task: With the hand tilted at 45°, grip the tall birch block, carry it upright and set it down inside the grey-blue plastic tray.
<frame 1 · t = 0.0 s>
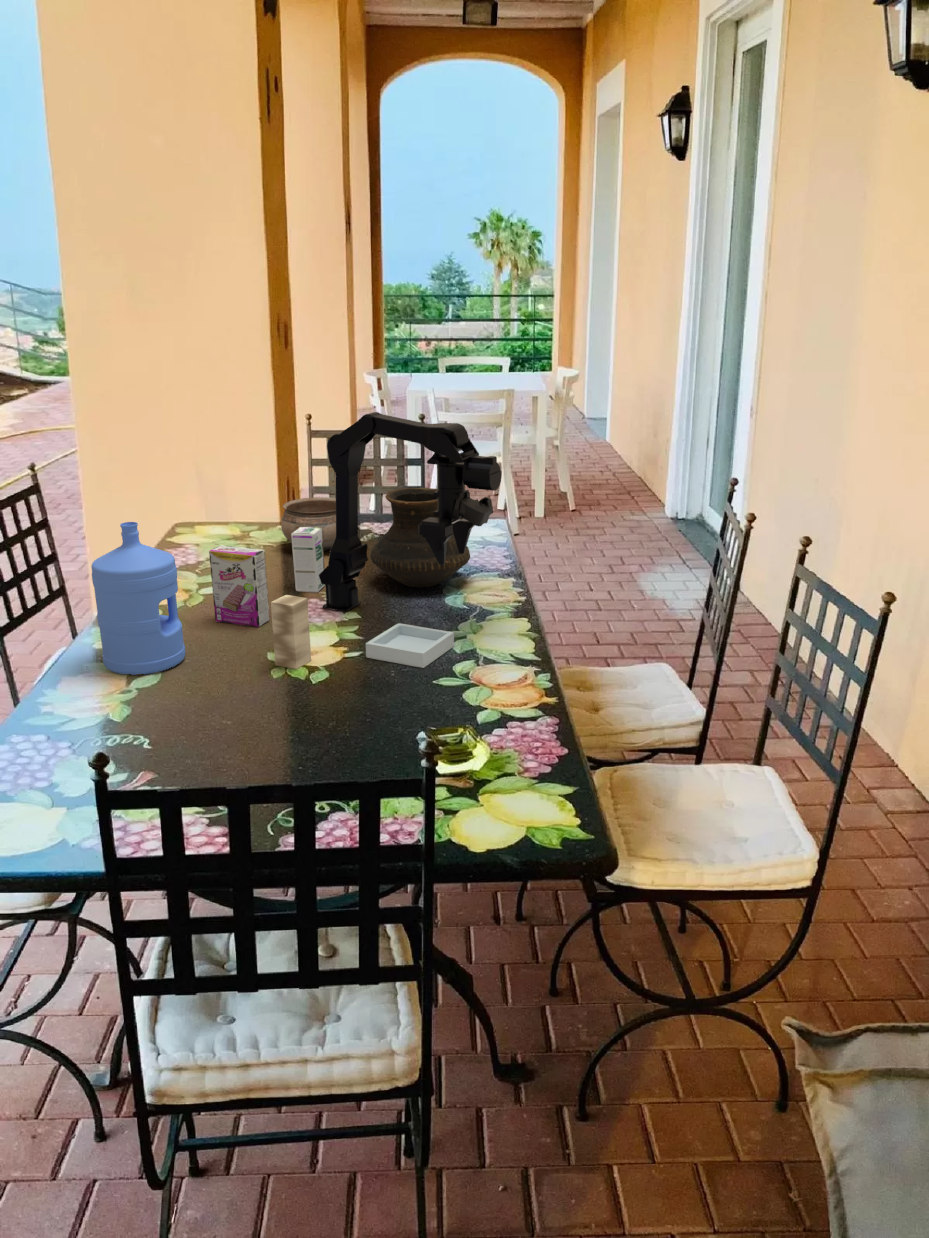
hand: (452, 559, 221), 15 cm above the table, tool pointing down, fingers open, 9 cm apart
birch block: (293, 662, 205), on the table
water jug: (145, 662, 207), on the table
ceramic pot: (421, 583, 254), on the table
tray: (410, 651, 211), on the table
syrup box: (310, 589, 250), on the table
cooking pot: (318, 549, 283), on the table
candy bar box: (242, 622, 228), on the table
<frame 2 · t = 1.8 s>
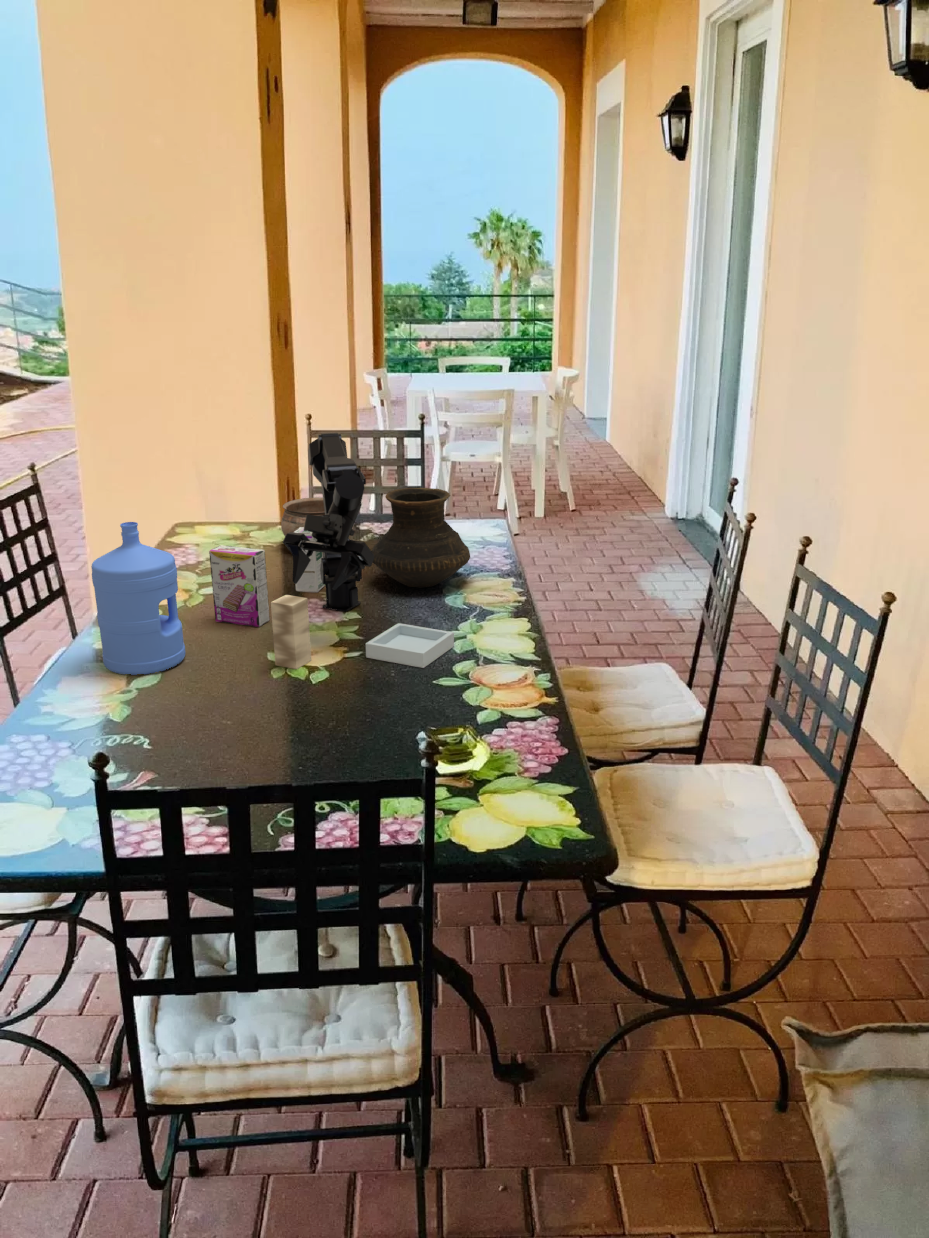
hand: (313, 585, 208), 14 cm above the table, tool tilted 45°, fingers open, 9 cm apart
nothing on the table moved.
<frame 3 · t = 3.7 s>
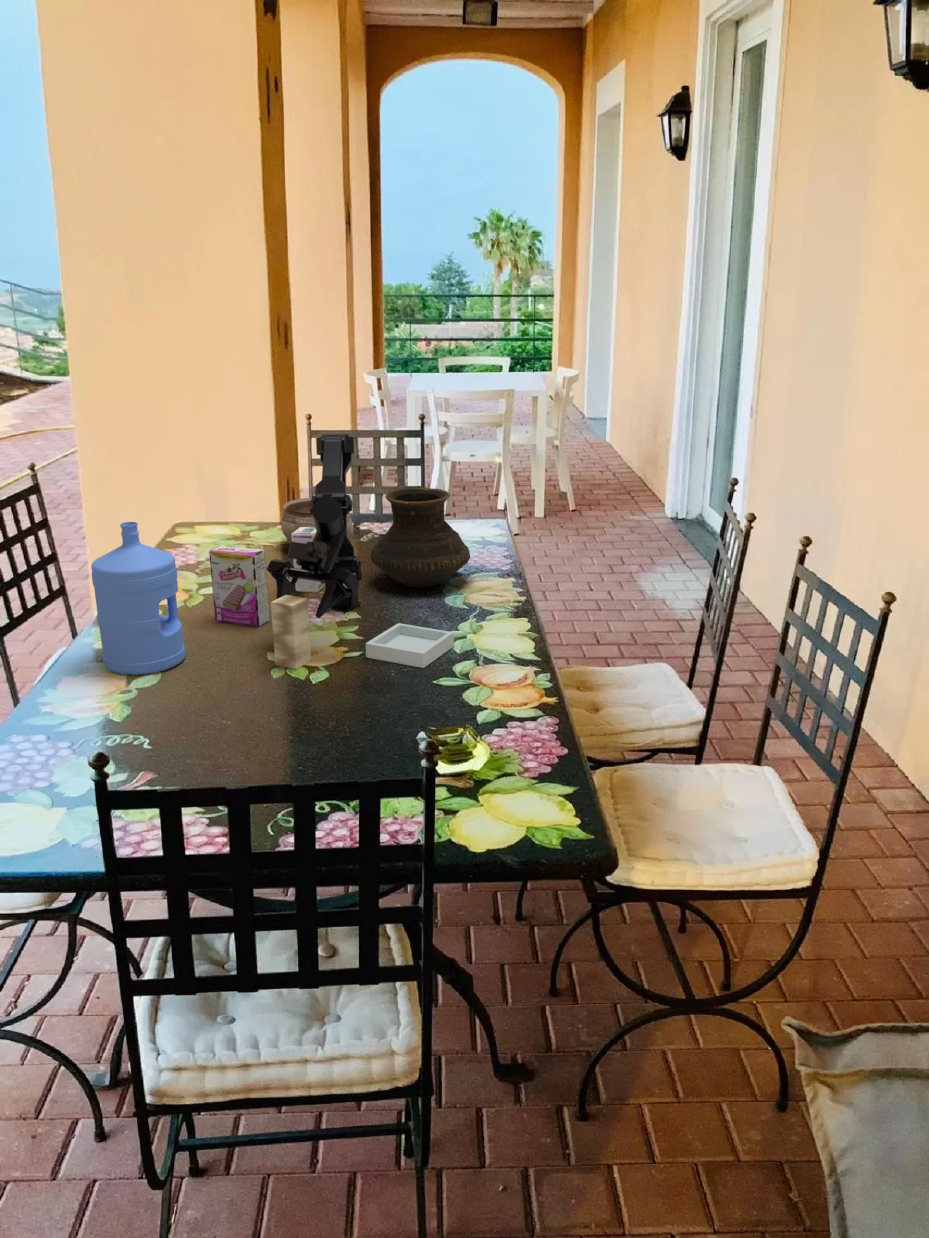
hand: (297, 614, 204), 9 cm above the table, tool tilted 45°, fingers open, 9 cm apart
nothing on the table moved.
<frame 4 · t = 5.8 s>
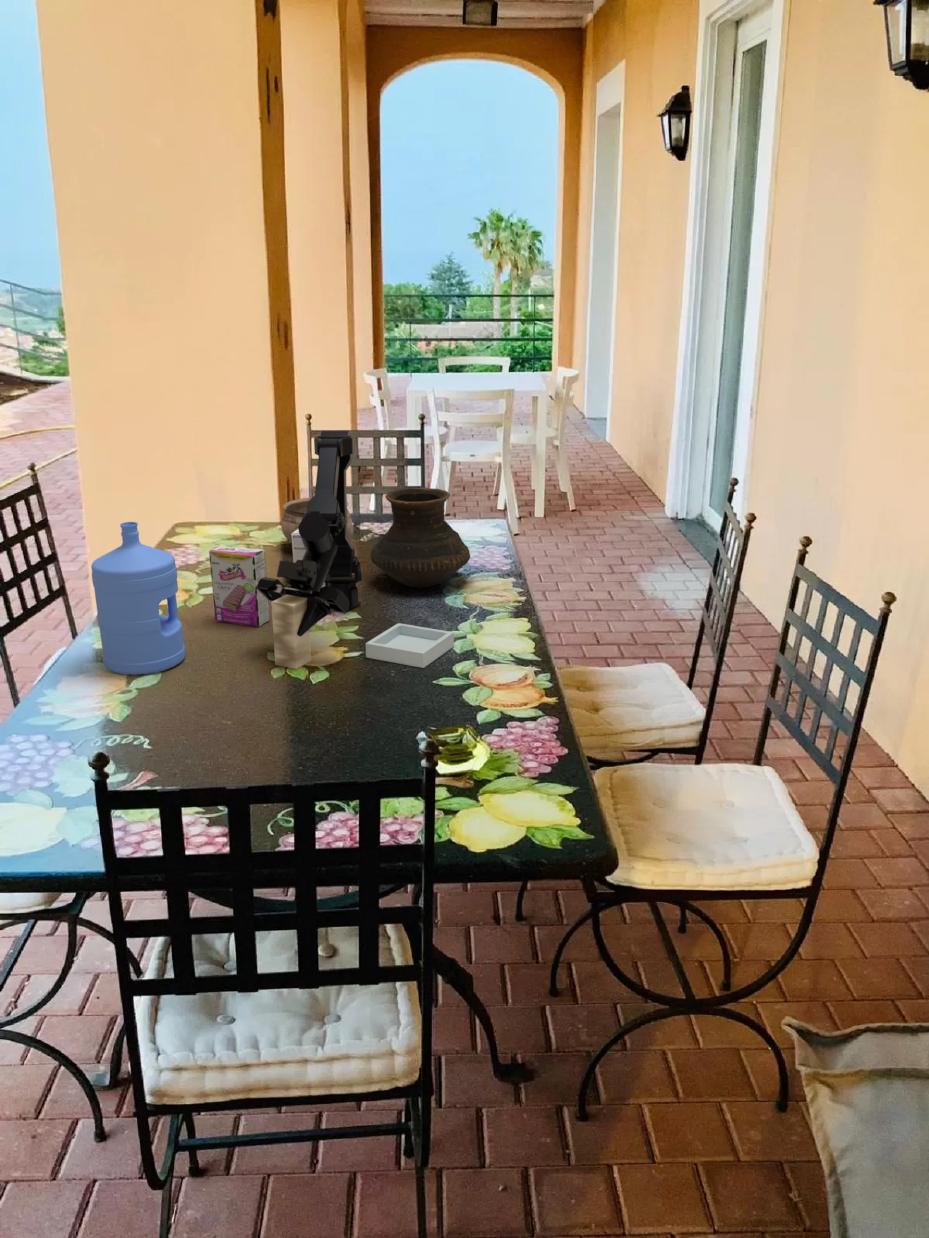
hand: (286, 633, 202), 7 cm above the table, tool tilted 45°, fingers closed on birch block, 5 cm apart
birch block: (293, 662, 205), on the table, touching gripper
everything else where it was.
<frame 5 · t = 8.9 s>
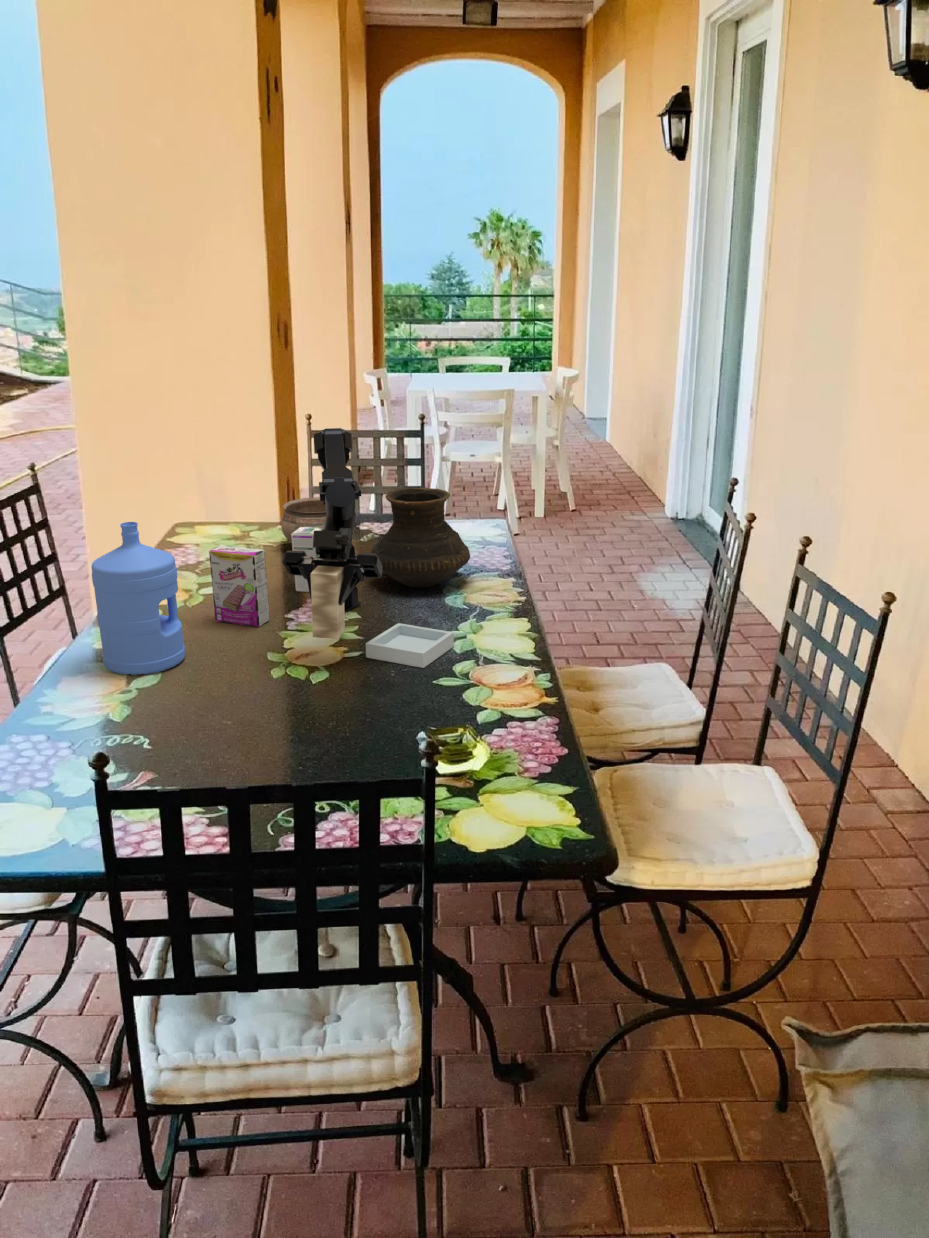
hand: (326, 603, 200), 13 cm above the table, tool tilted 45°, fingers closed on birch block, 5 cm apart
birch block: (329, 633, 204), point 6 cm above the table, touching gripper
everything else where it was.
when the fingers open (9 cm above the table, at t = 12.1 s): birch block drops 1 cm, resting on tray.
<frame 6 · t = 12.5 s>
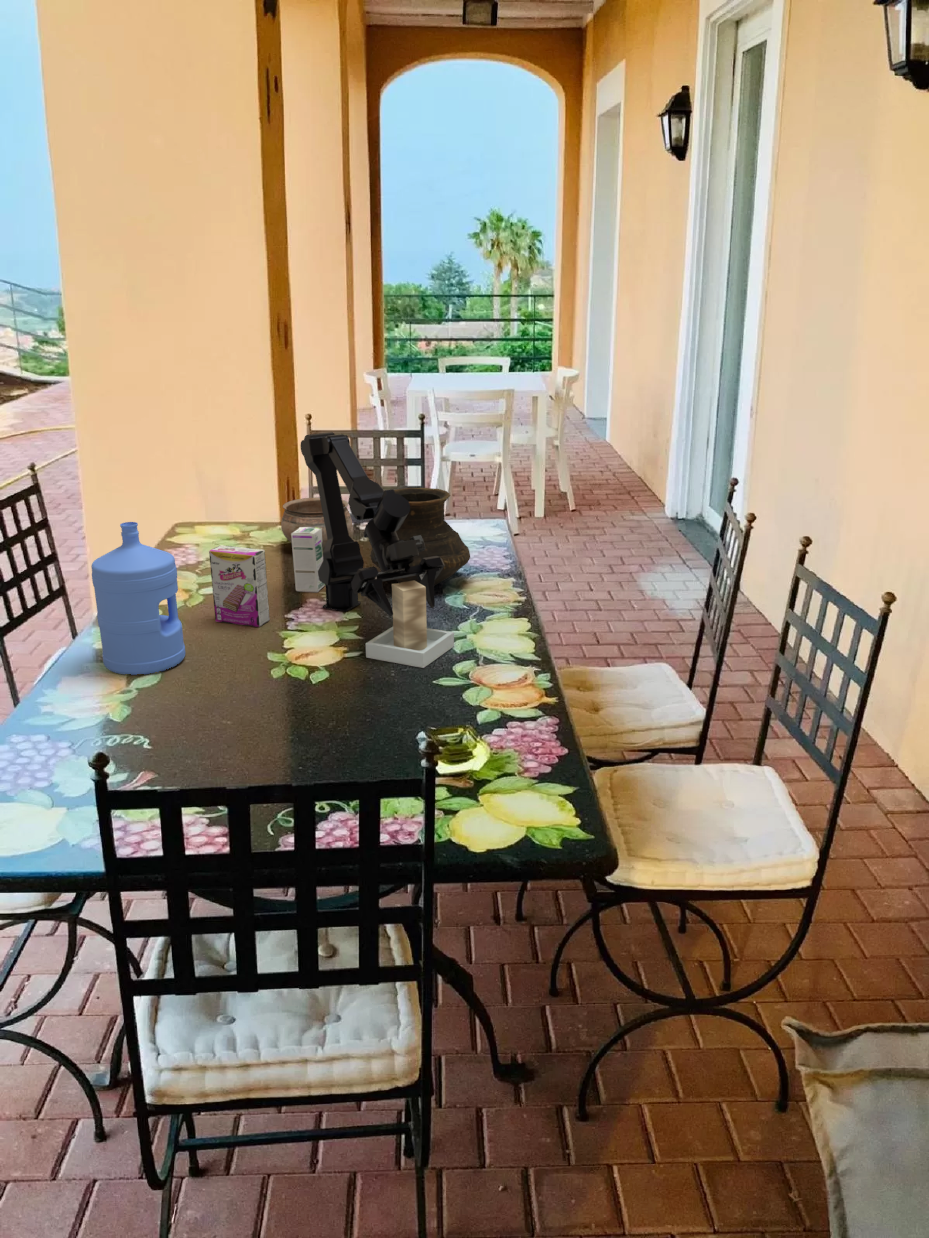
hand: (412, 611, 206), 9 cm above the table, tool tilted 45°, fingers open, 9 cm apart
birch block: (410, 647, 210), point 1 cm above the table, touching tray
everything else where it was.
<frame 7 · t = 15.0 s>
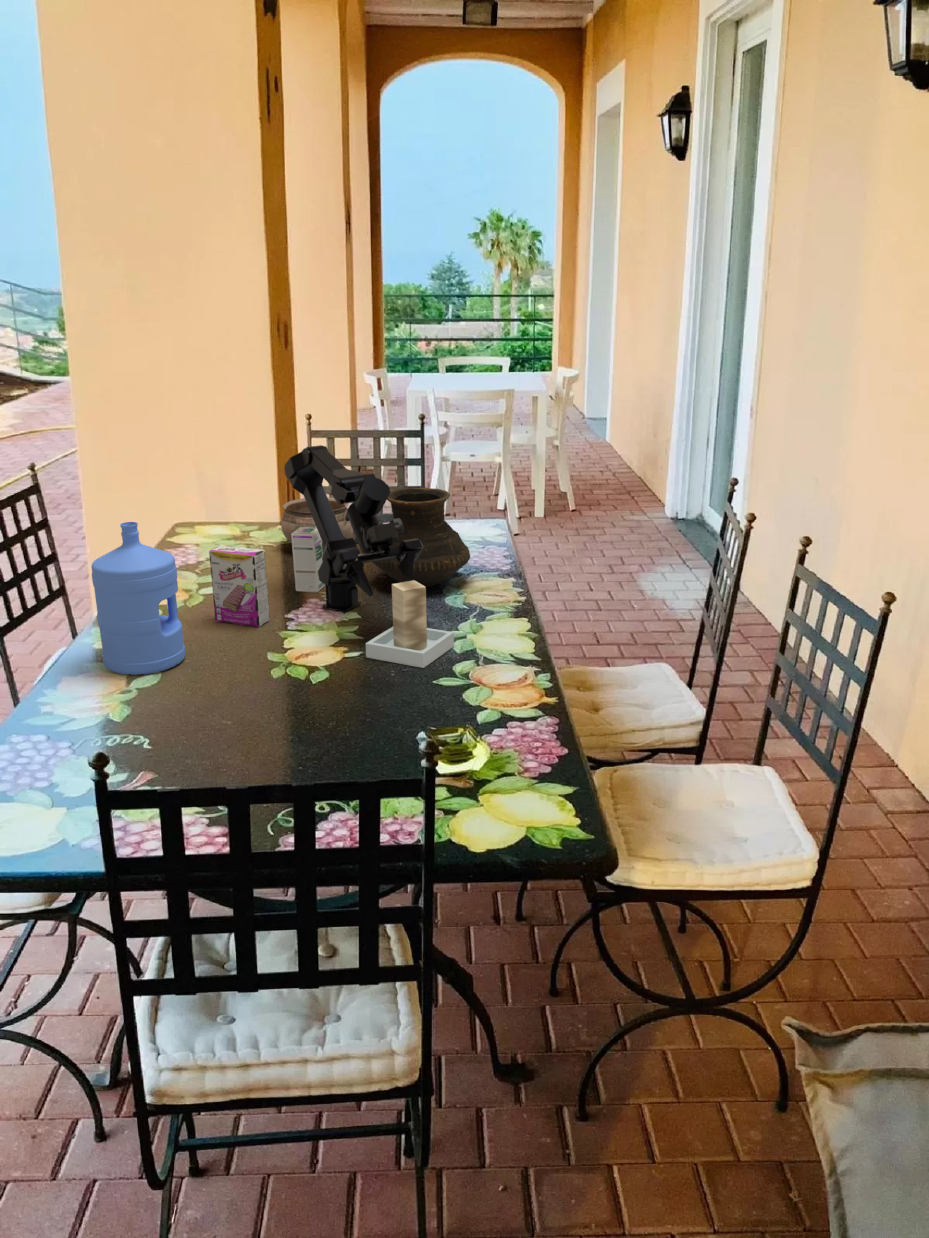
hand: (392, 591, 213), 11 cm above the table, tool tilted 45°, fingers open, 9 cm apart
nothing on the table moved.
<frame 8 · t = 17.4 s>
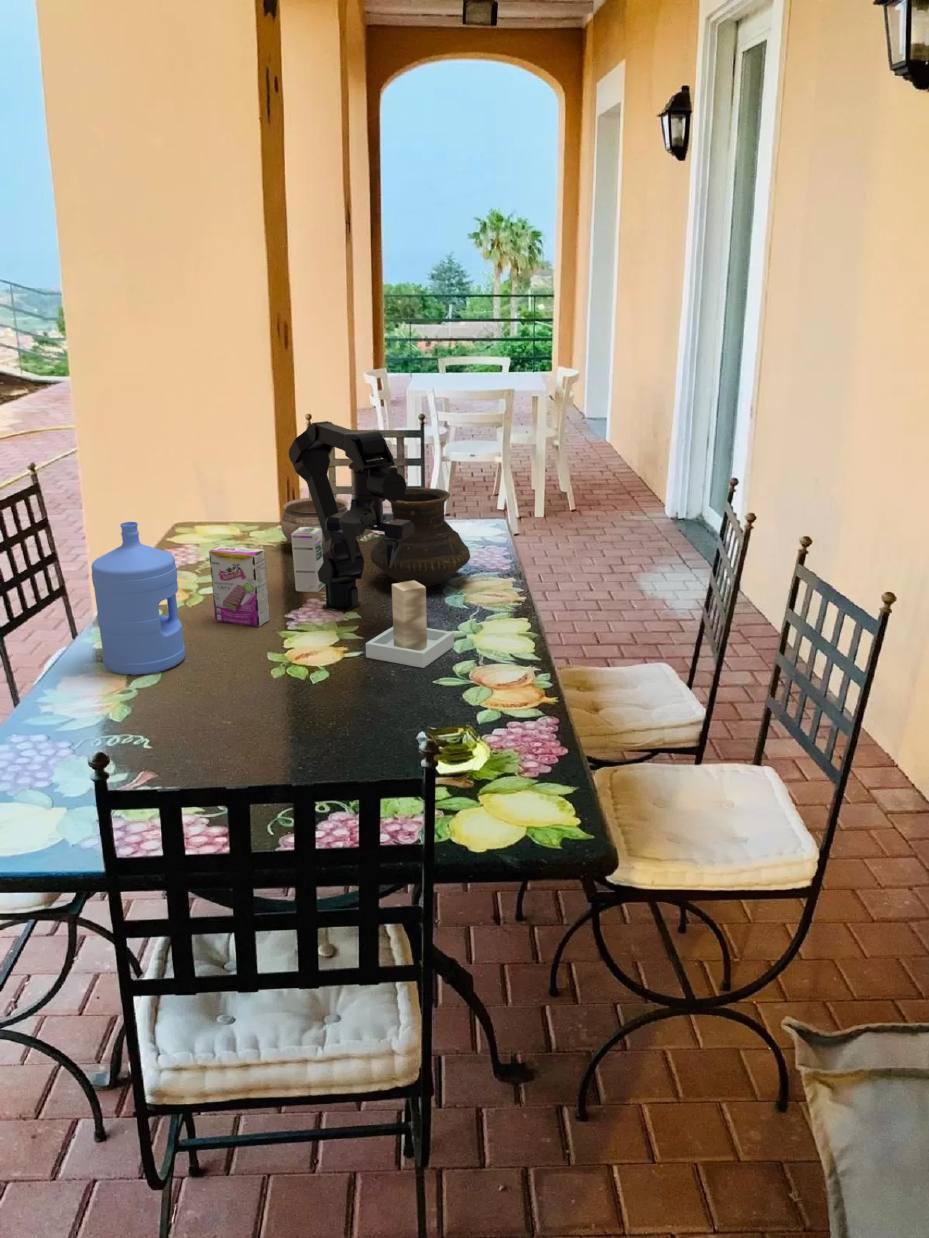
hand: (371, 564, 223), 13 cm above the table, tool pointing down, fingers open, 9 cm apart
nothing on the table moved.
at the end: birch block inside the target area on the tray (0.0 cm from its centre), point 1.0 cm above the tray's base; birch block tilted 0°; the gripper is holding nothing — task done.
